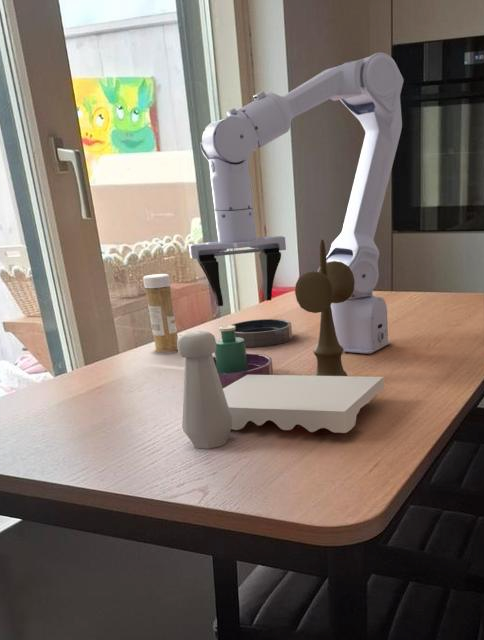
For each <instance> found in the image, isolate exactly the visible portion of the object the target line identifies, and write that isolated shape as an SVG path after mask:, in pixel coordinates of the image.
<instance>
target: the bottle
mask: <svg viewBox="0 0 484 640" xmlns="http://www.w3.org/2000/svg"><path fill="white" fill-rule="evenodd" d="M235 329H236V327H235V326H233V325H232V324H228V325H222V326H219V328H218V330H219V331H220V334H221V338H217V339H215V340H216V351H215V353H214V356H215V359H216V367H217V372H218V373H234V372H242V371H247V370H248V367H247V358H246V353H247V350H246V349H247V348H246V347H245V340H244V338H240V337H235Z"/></svg>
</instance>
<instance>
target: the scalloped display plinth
mask: <svg viewBox="0 0 484 640" xmlns="http://www.w3.org/2000/svg"><path fill="white" fill-rule="evenodd" d="M382 390H384V376H362V375H361V376H356V375H353V376H352V375H351V376H350V375H347V376H314V375H300V374H299V375H297V374H296V375H292V374H291V375H290V374H273V375H246V376H244V377H243V378H241V379H239V380H237V381H236V382H234V383H232V384H230V385H229V386H227V387H225V388H223V391H224V394H225V398H226V401H227V404H228V407H229V411H230V414H231V417H232V427H231V430H233V431H237V430H238V431H239V430H241V429H244V428H245V426H246V424H247V423H248V422H252V423H254V424H255V425H256V426H262V425H264V424H265V423H266V422H267V421H271V422H272V423H274V424H275V425H276V426H277V427H278V428H279V429H281V430H282V431H292V430H293V429H294V428H295V427H296V426H297V425H299V426H301V427H303V428H304V429H305V430H307V431H308V432H309V433H315V432H317V431H318V430H320V429H326V430H328V431H330V432H332V433H335V434H336V433H340V434H347V433H348V432H350V431H351V430H353V428H354V427H355V426H356V423H357V415H358V414H359V413H360V409H361V408H363V407H364V406H365V405H367V404H369V403H370V402H371V400H372V399H373V398H374V397H375V396H377V394H379V393H380V392H382Z"/></svg>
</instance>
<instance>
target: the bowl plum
mask: <svg viewBox="0 0 484 640" xmlns="http://www.w3.org/2000/svg"><path fill="white" fill-rule="evenodd" d="M246 358H247V367H248V370H247V371H242V372H234V373H218V375H219V378H220V382H221V385H222V388H225V387H227V386H229V385H230V384H232V383H234V382H236V381H237V380H239V379H241V378H243V377H244V376H246V375H274V368H273V367H274V366H273V359H272V357H270V356H269V355H267V354H266V355H265V354H262V353H252V352H251V353H250V352H246ZM213 359H214V362H215V366H216V359H215V355H213ZM216 369H217V367H216Z"/></svg>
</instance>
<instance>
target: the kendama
mask: <svg viewBox="0 0 484 640" xmlns="http://www.w3.org/2000/svg"><path fill="white" fill-rule="evenodd" d="M326 256H327V250H326V244H325V240H324V239H320V241H319V267H318V269H317V271H314V270H312V271H307V272H304V273H303V274H301V275H300V276H299V277H298V278H297V281H296V282H295V289H294V294H295V299H296V302H297V304H298V305H299V306H300V308H301V309H303V310H304V311H306V312H307V313H312V314H318V313H320V322H319V333H318V340H317V344H316V347H315V349H314V350H313V354H314V356H315V357H316V371H315V372H314V374H313V376H348V373H347V372H346V371H345V370H344V367H343V363H342V354H343V352H345V351H344V349H343V348H342V346H340V344H339V342H338V339H337V336H336V332H335V327H334V322H333V316H332V310H331V303H341V302H344V301H346V300H347V299H349V298H350V297H351V295H352V293H353V291H354V284H355V281H354V276H353V273H352V271H351V269H350V268H349V266H347V265H346V264H344V263H342V262H337V261H332V262H327V260H326Z"/></svg>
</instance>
